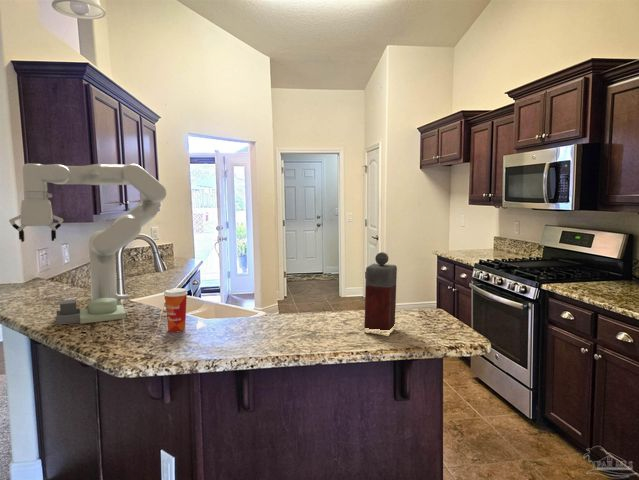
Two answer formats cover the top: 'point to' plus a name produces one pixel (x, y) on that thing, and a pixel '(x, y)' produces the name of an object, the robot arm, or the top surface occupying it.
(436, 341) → the top surface
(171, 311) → the paper cup
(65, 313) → the grey rectangular block
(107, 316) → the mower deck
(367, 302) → the square decanter
